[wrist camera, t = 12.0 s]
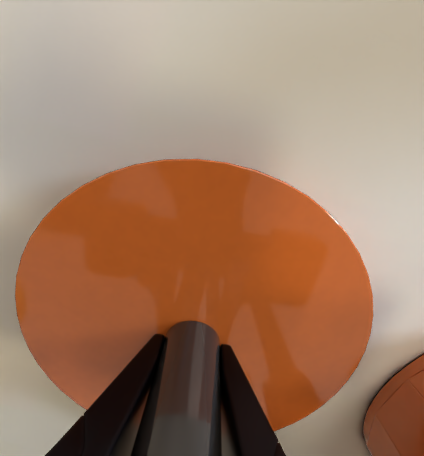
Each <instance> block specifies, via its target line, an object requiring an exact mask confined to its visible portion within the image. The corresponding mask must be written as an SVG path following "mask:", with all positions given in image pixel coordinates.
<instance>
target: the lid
mask: <svg viewBox="0 0 424 456" xmlns="http://www.w3.org/2000/svg"><path fill="white" fill-rule="evenodd" d="M15 300H16V310H17V316H18V320H19V324H20V328H21V332H22V334H23V336H24V339H25V341H26V343H27V346H28V348H29V350H30V352H31V353H32V355H33V357H34V358H35V360H36V362H37V363H38V365H39V366H40V367H41V369H42V370H43V371H44V372H45V374H46V375H47V376H48V377H49V379H50V380H51V381H52V382H53V383H54V384H55V385H56V386H57V387H58V388H59V389H60V390H61V391H62V392H63V393H65V394H66V395H67V396H68V397H70V398H71V399H72V400H73V401H74V402H76V403H77V404H79V405H80V406H82V407H83V408H85V409H86V410H87V409H88V408H89V407H90V406H91V405H92V404H93V403H94V402H95V400H96V399H97V398H98V397H99V396H100V395H101V394H102V393H103V391H104V390H105V389H106V388H107V387H108V386H109V385H110V384H111V383H112V381H113V380H114V379H115V378H116V377H117V376H118V375H119V374H120V372H121V371H122V370H123V369H124V368H125V367H126V366H127V365H128V363H129V362H130V361H131V360H132V359H133V358H134V357H135V356H136V354H137V353H138V352H139V351H140V350H141V349H142V348H143V347H144V345H145V344H146V343H147V342H148V341H149V340H150V339H151V338H152V336H153V335H154V334H162V335H164V336H165V339H164V342H163V346H162V349H161V353H160V356H159V359H158V363H157V366H156V370H155V373H154V376H153V379H152V383H151V386H150V390H149V393H148V397H147V400H146V403H145V407H144V410H143V414H142V417H141V421H140V424H139V428H138V431H137V434H136V438H135V441H134V445H133V448H132V452H131V455H130V456H222V428H221V370H220V346H221V344H227V345H230V346H231V347H232V349H233V351H234V353H235V355H236V357H237V359H238V361H239V363H240V365H241V367H242V369H243V371H244V373H245V375H246V377H247V379H248V381H249V383H250V385H251V387H252V389H253V391H254V393H255V395H256V397H257V399H258V401H259V403H260V405H261V407H262V409H263V411H264V413H265V415H266V417H267V419H268V421H269V423H270V425H271V427H272V429H273V431H277V430H279V429H281V428H284V427H286V426H288V425H291V424H293V423H295V422H297V421H299V420H300V419H302V418H304V417H306V416H308V415H309V414H311V413H312V412H314V411H315V410H317V409H318V408H320V407H321V406H322V405H324V404H325V403H326V402H327V401H328V400H329V399H331V398H332V397H333V396H334V395H335V394H336V393H337V392H338V391H339V390H340V389H341V388H342V387H343V385H344V384H345V383H346V382H347V381H348V379H349V378H350V377H351V375H352V374H353V372H354V371H355V369H356V368H357V366H358V364H359V362H360V360H361V358H362V356H363V354H364V352H365V350H366V346H367V343H368V340H369V337H370V334H371V327H372V320H373V295H372V290H371V286H370V281H369V276H368V273H367V270H366V268H365V266H364V263H363V261H362V258H361V256H360V253H359V252H358V250H357V248H356V247H355V245H354V244H353V242H352V240H351V239H350V237H349V236H348V234H347V233H346V231H345V230H344V229H343V228H342V227H341V226H340V225H339V224H338V222H337V221H336V220H335V219H334V218H333V217H332V216H331V215H330V214H329V213H328V212H327V211H326V210H325V209H323V208H322V207H321V206H320V205H319V204H317V203H316V202H315V201H314V200H312V199H311V198H310V197H309V196H307V195H305V194H304V193H302V192H300V191H299V190H297V189H295V188H294V187H292V186H290V185H289V184H287V183H285V182H283V181H281V180H279V179H276V178H274V177H271V176H269V175H267V174H264V173H262V172H259V171H257V170H254V169H250V168H246V167H242V166H239V165H235V164H231V163H227V162H219V161H211V160H202V159H166V160H159V161H153V162H147V163H140V164H135V165H131V166H128V167H125V168H122V169H119V170H116V171H112V172H109V173H106V174H104V175H102V176H100V177H98V178H96V179H94V180H92V181H90V182H88V183H86V184H84V185H82V186H81V187H79V188H78V189H77V190H75V191H74V192H72V193H71V194H69V195H68V196H67V197H65V198H64V199H62V200H61V201H60V202H59V203H58V204H57V205H56V206H55V207H54V208H53V209H52V210H51V211H50V212H49V213H48V214H47V215H46V216H45V217H44V218H43V220H42V221H41V222H40V224H39V225H38V227H37V228H36V230H35V231H34V232H33V234H32V235H31V237H30V239H29V241H28V243H27V245H26V247H25V250H24V252H23V254H22V256H21V260H20V264H19V268H18V272H17V276H16V289H15Z"/></svg>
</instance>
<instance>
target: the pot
mask: <svg viewBox="0 0 424 456" xmlns="http://www.w3.org/2000/svg"><path fill="white" fill-rule="evenodd" d="M363 432H364V440H365V443H366V446H367V448H368V450H369V452H370V454H371V456H424V355H422V356H421V357H419V358H418V359H416V360H415V361H413V362H412V363H410V364H409V365H407V366H406V367H405V368H403V369H402V370H401V371H400V372H398V373H397V374H396V375H395V376H394V377H393V378H392V379H391V380H390V381H389V382H388V383H387V384H386V385H385V386H384V387H383V388H382V389H381V390H380V391H379V393H378V394H377V395H376V397H375V398H374V400H373V401H372V403H371V405H370V407H369V408H368V411H367V414H366V416H365V420H364V426H363Z"/></svg>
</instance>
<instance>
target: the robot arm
mask: <svg viewBox="0 0 424 456" xmlns="http://www.w3.org/2000/svg"><path fill="white" fill-rule="evenodd" d="M164 339H165V336H164V335H162V334H154V335H153V336H152V338H151V339H150V340H149V341H148V342H147V343H146V344H145V345H144V347H143V348H142V349H141V350H140V351H139V352H138V353H137V354H136V356H135V357H134V358H133V359H132V360H131V361H130V362H129V363H128V365H127V366H126V367H125V368H124V369H123V370H122V371H121V372H120V374H119V375H118V376H117V377H116V378H115V379H114V380H113V381H112V383H111V384H110V385H109V386H108V387H107V388H106V389H105V390H104V391H103V393H102V394H101V395H100V396H99V397H98V398H97V399H96V400H95V402H94V403H93V404H92V405H91V406H90V407H89V408H88V409H87V411H86V412H85V413H84V416H81V417H80V418H79V419H78V421H77V422H76V423H75V424H74V425H73V426H72V427H71V428H70V429H69V431H68V432H67V433H66V434H65V435H64V436H63V437H62V438H61V439H60V440H59V441H58V442H57V443H56V445H55V446H54V447H53V448H52V449H51V450H50V451H49V452H48V453H47V454H46V455H45V456H130V455H131V452H132V448H133V445H134V441H135V438H136V434H137V431H138V428H139V424H140V421H141V417H142V414H143V410H144V407H145V403H146V400H147V397H148V393H149V390H150V386H151V383H152V379H153V376H154V373H155V370H156V366H157V363H158V359H159V356H160V353H161V349H162V346H163V342H164ZM220 370H221V428H222V456H286V455H285V453H284V451H283V449H282V447H281V445H280V443H278V439H277V437H276V435H275V433H274V431H273V429H272V427H271V425H270V423H269V421H268V419H267V417H266V415H265V413H264V411H263V409H262V407H261V405H260V403H259V401H258V399H257V397H256V395H255V393H254V391H253V389H252V387H251V385H250V383H249V381H248V379H247V377H246V375H245V373H244V371H243V369H242V367H241V365H240V363H239V361H238V359H237V357H236V355H235V353H234V351H233V349H232V347H231V346H230V345H227V344H221V346H220Z"/></svg>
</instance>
